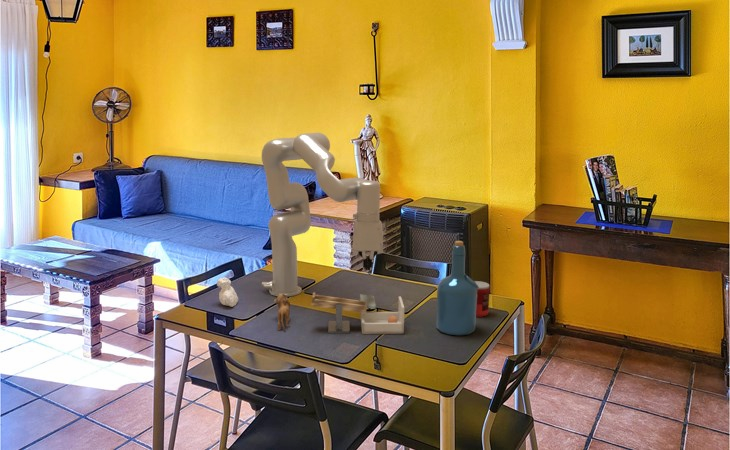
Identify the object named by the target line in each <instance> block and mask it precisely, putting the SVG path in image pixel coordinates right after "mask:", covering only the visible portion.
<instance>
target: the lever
mask: <svg viewBox="0 0 730 450" xmlns="http://www.w3.org/2000/svg"><path fill="white" fill-rule="evenodd" d="M310 304H311V305H310V306H311V307H315V308H316V307H317V308H325V309H334V310H336V304H342V311H347V312H355V313H357V312H358V313H361V312H363V313H366V312H367V309H373V310H376V309H377V307H376V306H377V305H376V300H375V296H374V295H369V294H362V293H359V300H358V299H350V298H342V297H335V296H327V295H320V294H316V292H315V291H314V292H313V291H312V298H311V303H310Z"/></svg>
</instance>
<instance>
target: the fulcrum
mask: <svg viewBox="0 0 730 450" xmlns="http://www.w3.org/2000/svg"><path fill="white" fill-rule="evenodd" d="M327 330H328V331H327V333H328V334H350V333H351V331H350V330H351V327H350V320H343V310H342V304H336V309H335V320H328V328H327Z"/></svg>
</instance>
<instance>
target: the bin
mask: <svg viewBox="0 0 730 450" xmlns="http://www.w3.org/2000/svg"><path fill="white" fill-rule="evenodd" d="M397 304H398V308H397V309H398V311H366V313H363V312H360V326H361V334H362V335H393V334H394V335H396V334H397V335H400V334H401V335H403V334H405V306H404V302H403V298H402V296H398V303H397ZM390 316H395V317H396V318H397V323H388V318H389V317H390Z"/></svg>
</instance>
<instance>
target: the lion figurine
mask: <svg viewBox="0 0 730 450" xmlns="http://www.w3.org/2000/svg"><path fill="white" fill-rule="evenodd" d="M273 302H274V304H275V305H277V306H278V311H277V331H281V330H282V328H283V331H285V332H286V331H287V329H286V327H287V328H290V327H291V324H289V321H291V318H290V315H291V314H290V309H291V302H290V301H289V298H288V297H287V296H286V295H284V294H279V296H276V298H274V299H273ZM284 320H285V325H286V327H285V325H284ZM281 326H282V327H281Z"/></svg>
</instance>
